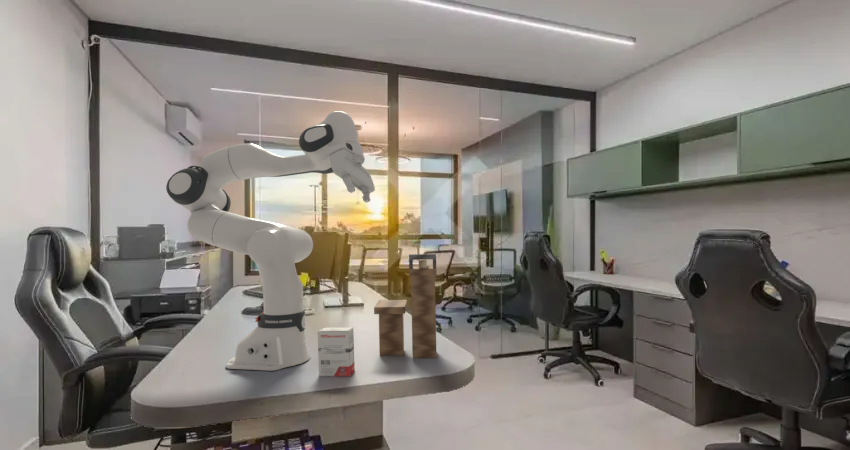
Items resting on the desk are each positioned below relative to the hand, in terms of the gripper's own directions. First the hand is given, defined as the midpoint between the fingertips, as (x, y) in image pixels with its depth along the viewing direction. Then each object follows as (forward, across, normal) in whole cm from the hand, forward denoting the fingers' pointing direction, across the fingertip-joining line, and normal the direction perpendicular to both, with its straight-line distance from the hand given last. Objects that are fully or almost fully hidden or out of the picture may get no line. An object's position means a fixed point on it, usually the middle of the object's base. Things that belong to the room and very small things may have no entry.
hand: (359, 196), depth 123 cm
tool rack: (+45, -21, -6) cm, 50 cm away
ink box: (+46, +2, -18) cm, 50 cm away
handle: (+22, -19, +7) cm, 30 cm away
